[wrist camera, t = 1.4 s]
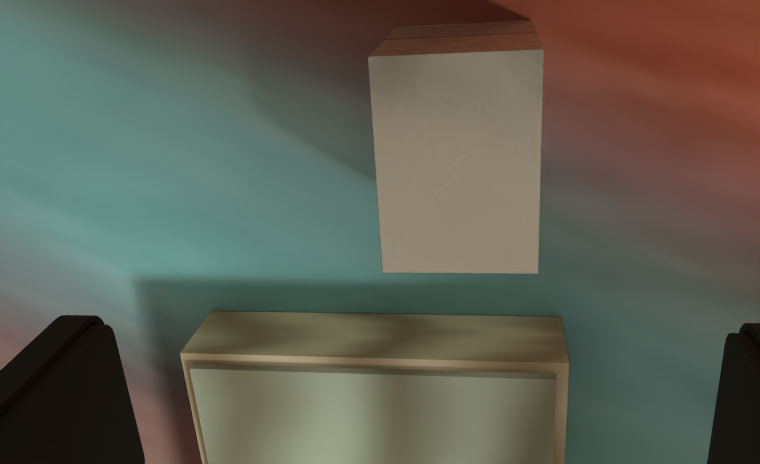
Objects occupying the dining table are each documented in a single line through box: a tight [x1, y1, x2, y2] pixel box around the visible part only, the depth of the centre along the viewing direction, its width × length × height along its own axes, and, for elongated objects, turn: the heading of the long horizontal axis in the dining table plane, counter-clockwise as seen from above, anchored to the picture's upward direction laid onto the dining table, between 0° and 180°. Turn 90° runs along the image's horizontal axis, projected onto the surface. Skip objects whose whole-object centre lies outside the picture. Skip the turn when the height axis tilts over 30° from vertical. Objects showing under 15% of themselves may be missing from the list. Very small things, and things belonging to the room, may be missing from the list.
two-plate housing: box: [368, 20, 544, 274], centre depth 25 cm, size 5×7×7 cm
